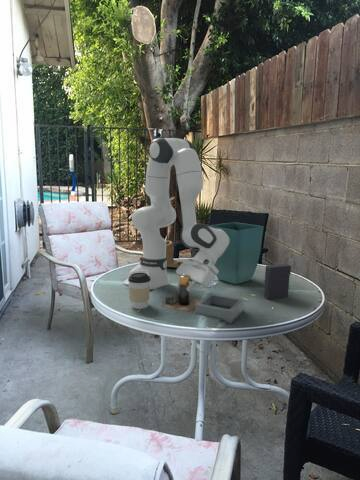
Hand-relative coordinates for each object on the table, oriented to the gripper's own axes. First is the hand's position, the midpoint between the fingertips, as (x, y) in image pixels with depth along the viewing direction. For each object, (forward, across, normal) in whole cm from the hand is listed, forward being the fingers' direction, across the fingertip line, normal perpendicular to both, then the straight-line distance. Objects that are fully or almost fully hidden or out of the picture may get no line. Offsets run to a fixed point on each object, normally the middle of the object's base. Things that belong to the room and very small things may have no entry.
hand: (183, 288), depth 170 cm
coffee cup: (+18, -8, -6) cm, 20 cm away
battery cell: (+4, 0, +5) cm, 7 cm away
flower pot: (-26, -20, +38) cm, 50 cm away
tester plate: (+5, 0, +6) cm, 8 cm away
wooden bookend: (-14, -59, +26) cm, 66 cm away
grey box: (-24, +11, +36) cm, 45 cm away
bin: (0, +14, +12) cm, 18 cm away
